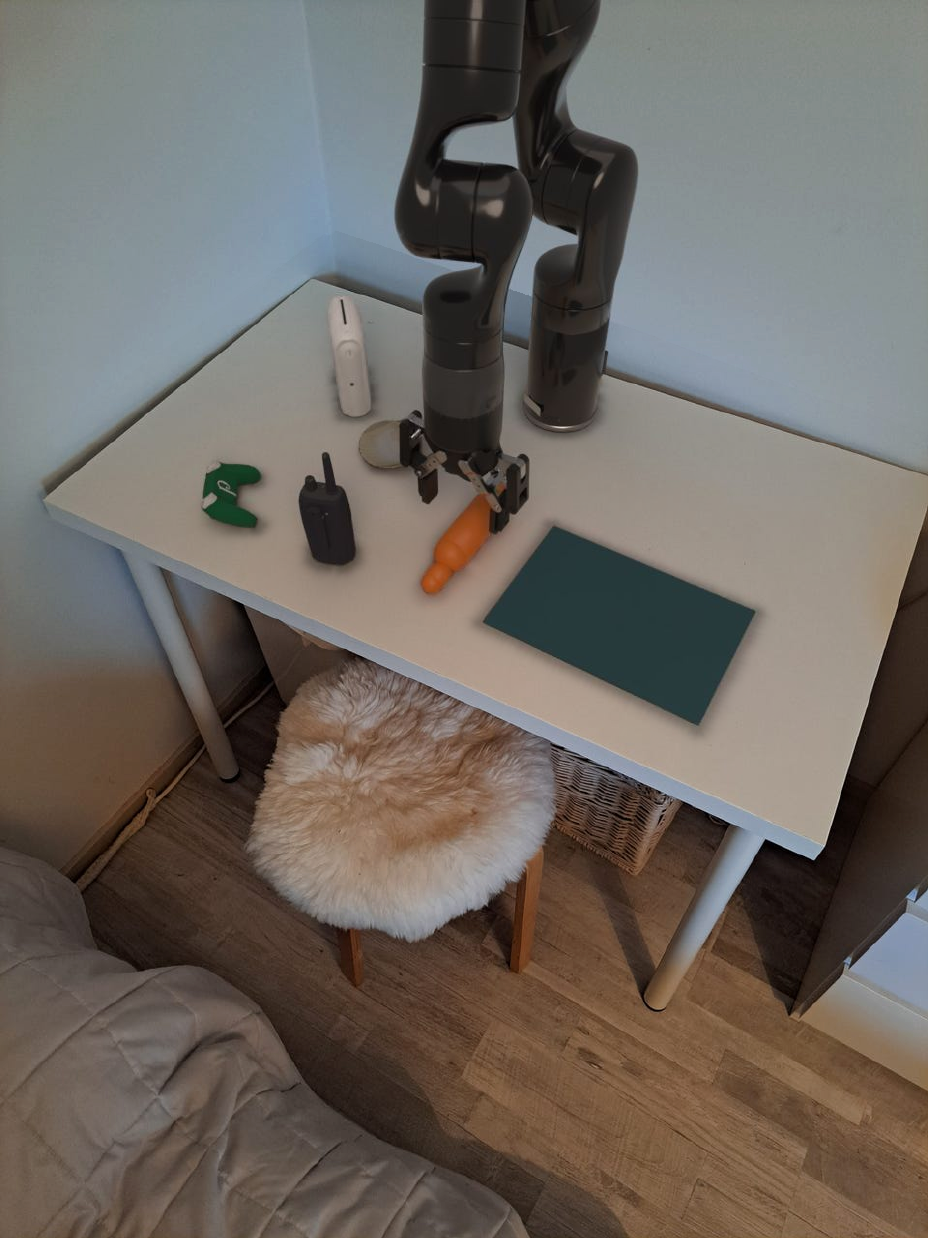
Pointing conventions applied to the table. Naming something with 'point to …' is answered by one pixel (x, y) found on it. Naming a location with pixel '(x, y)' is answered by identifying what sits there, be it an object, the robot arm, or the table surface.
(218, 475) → the gaming controller
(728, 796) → the table surface
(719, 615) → the cloth
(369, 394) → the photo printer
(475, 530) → the carrot
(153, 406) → the table surface
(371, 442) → the seashell
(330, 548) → the two-way radio
